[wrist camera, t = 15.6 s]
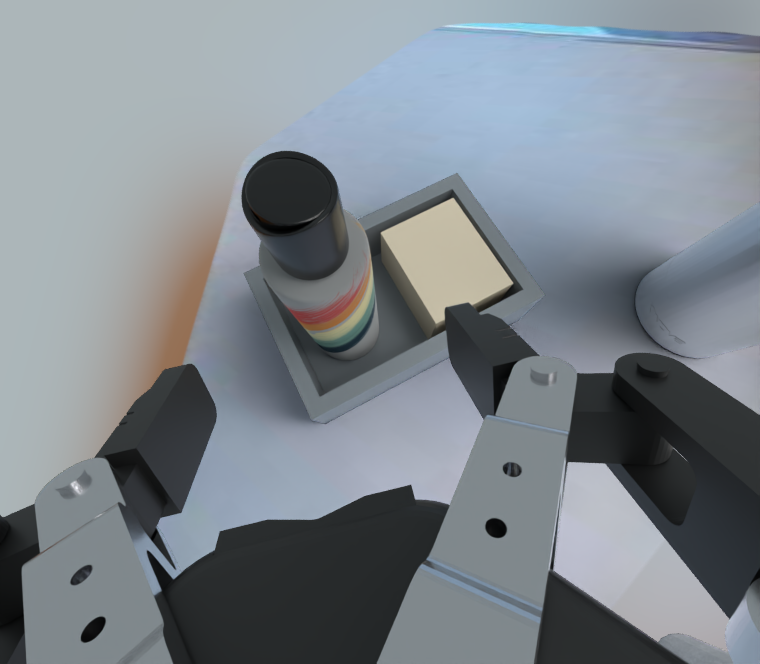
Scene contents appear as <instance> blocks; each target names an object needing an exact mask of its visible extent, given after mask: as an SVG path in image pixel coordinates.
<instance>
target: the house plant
mask: <svg viewBox="0 0 760 664" xmlns="http://www.w3.org/2000/svg"><path fill="white" fill-rule="evenodd" d="M658 643H660V644H661V645H663V646H664V647H666V648H667V649H669V650H670V651H672V652H673V653H674V654H676V655H677V656H679V657H680V658H682V659H683V660H685V661H686V662H688V663H689V664H734V663H733V661H732V659H731V657H730V655H729V652H727V651H725V650H722V649H720V648H717V647H715V646H713V645H710V644H708V643H706V642H703V641H701V640H698V639H696V638H694V637H691V636H689V635H684V634H679V633H678V634H670V635H667V636H665V637H663V638H661V640H660V641H659V642H658Z"/></svg>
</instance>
